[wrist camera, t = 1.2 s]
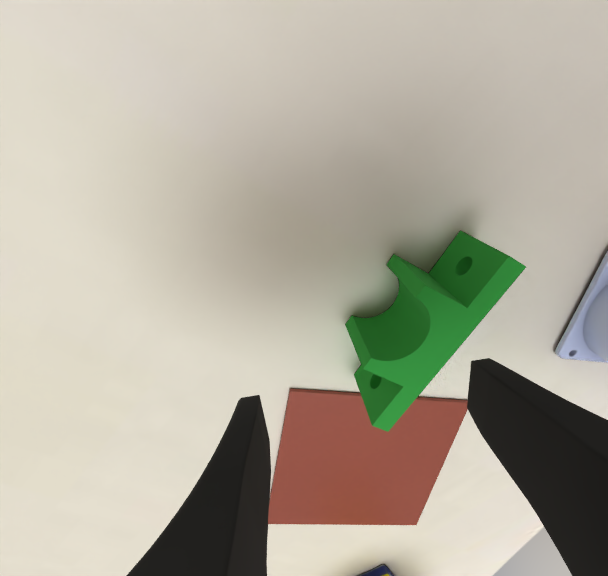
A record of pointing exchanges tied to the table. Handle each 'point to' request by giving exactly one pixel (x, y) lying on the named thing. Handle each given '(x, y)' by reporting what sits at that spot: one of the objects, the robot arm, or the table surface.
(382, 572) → the supplement box
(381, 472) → the napkin
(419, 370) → the pipe clamp
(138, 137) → the table surface
